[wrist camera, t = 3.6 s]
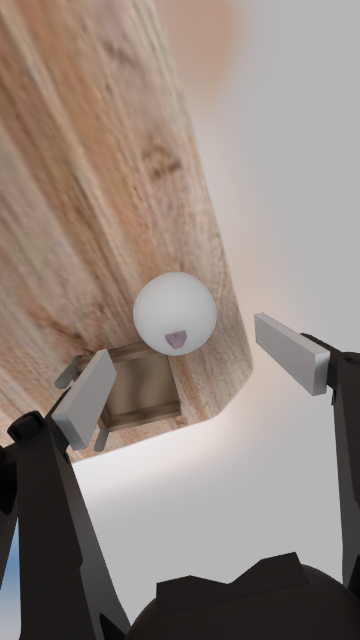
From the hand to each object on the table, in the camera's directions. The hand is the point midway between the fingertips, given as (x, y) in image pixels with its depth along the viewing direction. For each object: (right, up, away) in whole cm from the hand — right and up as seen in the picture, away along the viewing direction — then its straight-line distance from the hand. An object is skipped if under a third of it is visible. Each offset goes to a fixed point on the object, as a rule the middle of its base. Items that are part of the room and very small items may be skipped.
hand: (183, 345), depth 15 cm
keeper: (-9, -9, +16) cm, 21 cm away
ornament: (-1, +5, +12) cm, 13 cm away
